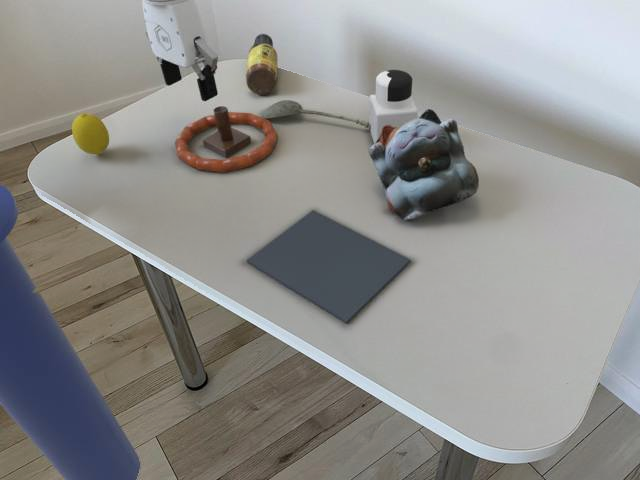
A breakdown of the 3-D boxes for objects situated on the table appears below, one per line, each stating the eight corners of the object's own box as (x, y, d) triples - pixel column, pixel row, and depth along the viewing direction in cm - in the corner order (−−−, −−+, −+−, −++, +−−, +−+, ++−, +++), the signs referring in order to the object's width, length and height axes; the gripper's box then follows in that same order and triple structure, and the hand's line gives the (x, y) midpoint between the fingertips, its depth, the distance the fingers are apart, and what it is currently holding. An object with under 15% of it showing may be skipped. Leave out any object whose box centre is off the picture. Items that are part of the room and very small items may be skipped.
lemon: (105, 142, 101) (90, 102, 95) (120, 154, 98) (105, 113, 92) (76, 154, 98) (59, 114, 92) (91, 167, 95) (73, 125, 89)
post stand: (226, 158, 96) (218, 122, 91) (203, 146, 99) (195, 111, 94) (251, 143, 99) (245, 107, 95) (228, 132, 102) (222, 97, 97)
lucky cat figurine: (384, 228, 82) (357, 136, 77) (388, 207, 93) (365, 125, 88) (485, 203, 79) (464, 105, 74) (477, 184, 90) (458, 98, 85)
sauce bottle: (265, 62, 107) (266, 20, 121) (239, 77, 109) (242, 34, 122) (284, 88, 111) (282, 45, 125) (258, 103, 113) (259, 59, 127)
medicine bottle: (407, 126, 103) (410, 63, 94) (416, 147, 97) (420, 82, 89) (369, 130, 102) (369, 67, 94) (376, 151, 97) (376, 86, 88)
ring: (223, 185, 90) (221, 175, 89) (157, 150, 98) (154, 140, 97) (296, 139, 100) (296, 130, 99) (230, 110, 108) (229, 101, 107)
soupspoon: (274, 107, 110) (258, 125, 106) (271, 92, 108) (254, 109, 103) (378, 121, 103) (365, 140, 99) (377, 104, 100) (364, 124, 96)
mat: (346, 323, 69) (346, 321, 69) (246, 262, 77) (246, 259, 77) (410, 262, 77) (410, 259, 76) (313, 212, 85) (313, 209, 85)
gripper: (112, -17, 87) (144, 85, 99) (182, 6, 79) (207, 113, 91) (151, -30, 91) (177, 69, 103) (221, -10, 83) (241, 95, 95)
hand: (191, 90), depth 97 cm, fingers open, 9 cm apart
